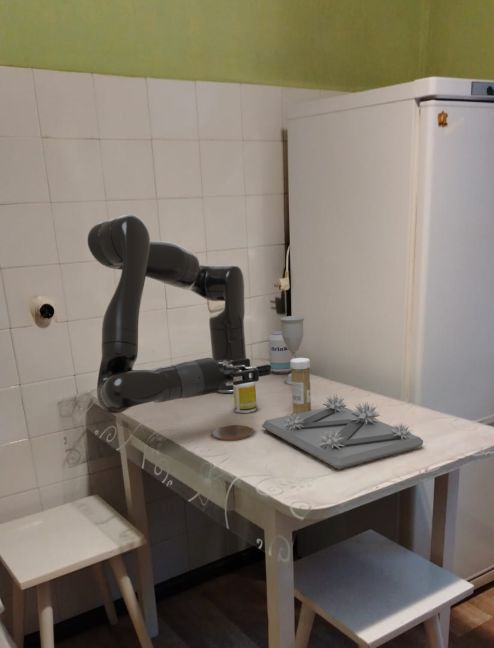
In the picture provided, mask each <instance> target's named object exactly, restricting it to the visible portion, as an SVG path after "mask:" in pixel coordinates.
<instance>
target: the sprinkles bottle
mask: <svg viewBox="0 0 494 648" xmlns="http://www.w3.org/2000/svg"><path fill="white" fill-rule="evenodd" d="M290 367H291V371H290V374H291V375H292V384H291V402H292V415H293V414H295V413H296V414H298V413H302V412H307V411H312V406H311V405H312V404H311V403H312V402H311V401H312V399H311V398H312V397H311V376H310V367H311V360H310V358H307V357H296V358H295V359H292V360H291V361H290Z"/></svg>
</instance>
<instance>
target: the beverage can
mask: <svg viewBox="0 0 494 648" xmlns="http://www.w3.org/2000/svg"><path fill="white" fill-rule="evenodd" d="M268 349H269V350H268V351H269V365H270V366H271V372H273V373H274V374H276V375H285V374H290V373H291V367H290V361H291V358H292V352H291V351H289V350H288V348H287V346H286V344H285V342H284V339H283V337H282V330H274V331H270V335H269V337H268Z"/></svg>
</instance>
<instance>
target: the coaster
mask: <svg viewBox="0 0 494 648" xmlns="http://www.w3.org/2000/svg"><path fill="white" fill-rule="evenodd" d="M253 434H254V429H253V428H252V427H250V426H247V425H243V424H242V425H241V424H234V425H233V424H232V425H231V424H230V425H224V426H221V427H218V428H215V429H214V430H213V431H212V437H213V438H214V439H216V440H220V441H227V442H229V441H231V442H232V441H241V440H245V439H247V438H249V437H251V436H253Z"/></svg>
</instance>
